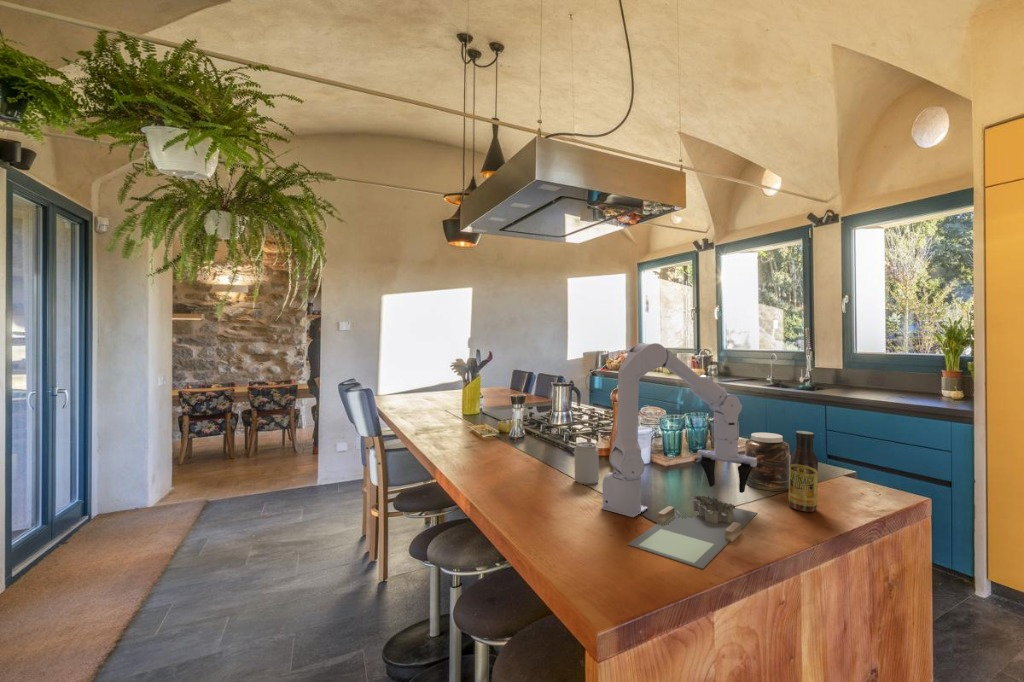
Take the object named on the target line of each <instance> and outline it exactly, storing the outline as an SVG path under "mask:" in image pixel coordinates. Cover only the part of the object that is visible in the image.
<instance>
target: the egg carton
mask: <svg viewBox="0 0 1024 682" xmlns="http://www.w3.org/2000/svg"><path fill="white" fill-rule="evenodd" d="M690 496H691V498H692V499H693V510H694V511H698V512H699V515H700V516H703V517H705V521H708V522H712V523H718V522H720V521H723V522H727V523H732V521H733V518H734V512H733V511H732V510H733V509H735V508H736V506H735V505H734V504H733V503H727V502H725V501H723V500H720V499H719V500H718V498H717V497H716V496H713V497H710V496H709V495H706V496H705V495H693V494H690ZM692 499H691V500H692ZM714 509H718V511H716V510H714Z"/></svg>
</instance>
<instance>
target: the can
mask: <svg viewBox="0 0 1024 682" xmlns="http://www.w3.org/2000/svg"><path fill="white" fill-rule="evenodd" d="M575 445H576V446H575V447H574V451H573V452H574V458H573V459H574V480H575V481H576V483H578V484H579V485H583V484H584V485H585V486H592V485H596V484H597V482H599V481H600V470H599V469H600V468H599V466H600V465H599V464H600V463H599V460H600V459H599V448H598V447H597V443H595V442H591V441H590V442H589V441H580V442H577V443H576V444H575ZM584 485H583V486H584Z"/></svg>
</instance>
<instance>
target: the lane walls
mask: <svg viewBox="0 0 1024 682" xmlns="http://www.w3.org/2000/svg"><path fill="white" fill-rule="evenodd" d="M675 511H676V509H675V506H671V505H668V506H667V507H665V508H663V509H661V510H660V511H659V512H657V520H658V521H661V522H665V521H667V520H668V519H670V518H671V517H673V516H674V515H675ZM658 521H657V522H658ZM741 534H742V530H741V523H736V522H733V523H732V524H731V525H730V526H729V527H728V528H727V529H726V530H725V539H726V540H730V542H729V543H733V542H734V541H735V540H737V538H738V537H739V536H740V535H741Z"/></svg>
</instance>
